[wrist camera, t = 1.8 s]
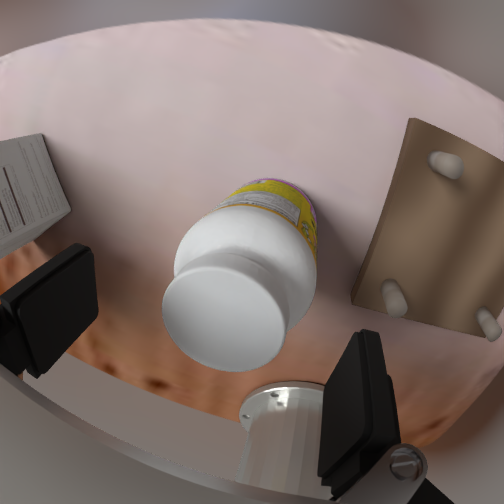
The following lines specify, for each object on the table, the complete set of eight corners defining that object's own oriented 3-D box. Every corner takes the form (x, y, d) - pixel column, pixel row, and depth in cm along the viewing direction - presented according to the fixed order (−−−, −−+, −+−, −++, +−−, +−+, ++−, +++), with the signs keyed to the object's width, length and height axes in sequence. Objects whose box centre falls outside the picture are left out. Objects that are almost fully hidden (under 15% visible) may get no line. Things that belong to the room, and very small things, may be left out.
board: (540, 188, 16) (571, 203, 12) (479, 328, 22) (496, 358, 18) (408, 118, 17) (431, 116, 13) (350, 294, 23) (355, 328, 19)
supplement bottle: (296, 275, 24) (271, 409, 12) (216, 243, 24) (131, 349, 12) (332, 197, 21) (349, 288, 9) (244, 161, 21) (152, 208, 9)
